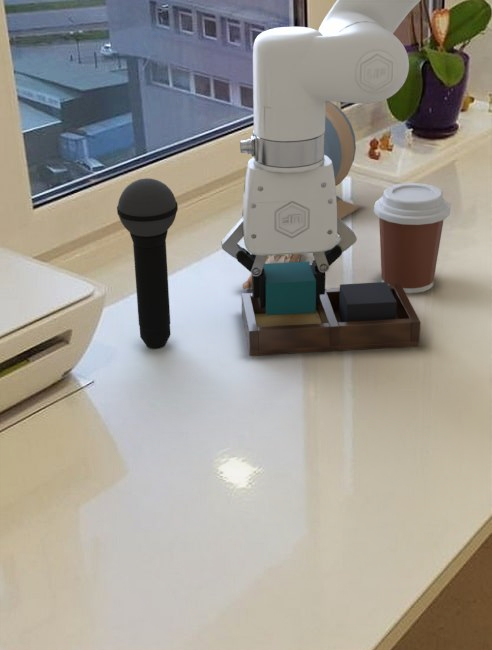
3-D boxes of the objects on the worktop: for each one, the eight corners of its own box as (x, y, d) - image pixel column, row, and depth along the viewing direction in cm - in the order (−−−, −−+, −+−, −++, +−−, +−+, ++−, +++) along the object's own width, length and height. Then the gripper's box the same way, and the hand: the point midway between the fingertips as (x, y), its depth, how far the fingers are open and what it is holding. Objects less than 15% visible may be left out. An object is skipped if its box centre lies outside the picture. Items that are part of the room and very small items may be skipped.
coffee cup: (375, 298, 131) (379, 206, 125) (366, 268, 139) (370, 180, 133) (451, 296, 130) (459, 203, 125) (437, 266, 138) (444, 178, 133)
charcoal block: (385, 312, 126) (387, 281, 124) (395, 333, 121) (396, 301, 120) (338, 314, 126) (339, 284, 125) (346, 336, 122) (347, 304, 120)
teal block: (308, 292, 125) (309, 261, 123) (315, 313, 120) (316, 280, 118) (261, 295, 125) (261, 263, 123) (266, 315, 120) (266, 283, 118)
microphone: (116, 349, 123) (102, 184, 114) (149, 326, 128) (138, 166, 119) (163, 363, 120) (152, 194, 110) (195, 339, 124) (188, 175, 115)
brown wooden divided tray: (399, 307, 128) (400, 284, 127) (418, 346, 120) (420, 321, 118) (241, 316, 129) (241, 293, 127) (249, 355, 120) (249, 331, 119)
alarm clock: (247, 212, 160) (245, 94, 151) (283, 192, 166) (284, 79, 158) (330, 230, 151) (333, 107, 143) (365, 209, 158) (369, 90, 149)
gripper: (211, 164, 111) (215, 320, 119) (376, 154, 110) (369, 311, 119) (206, 142, 117) (211, 292, 126) (362, 133, 117) (357, 283, 126)
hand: (288, 300), depth 122 cm, fingers closed on teal block, 5 cm apart
